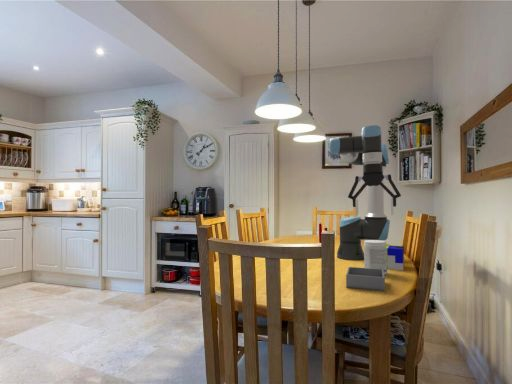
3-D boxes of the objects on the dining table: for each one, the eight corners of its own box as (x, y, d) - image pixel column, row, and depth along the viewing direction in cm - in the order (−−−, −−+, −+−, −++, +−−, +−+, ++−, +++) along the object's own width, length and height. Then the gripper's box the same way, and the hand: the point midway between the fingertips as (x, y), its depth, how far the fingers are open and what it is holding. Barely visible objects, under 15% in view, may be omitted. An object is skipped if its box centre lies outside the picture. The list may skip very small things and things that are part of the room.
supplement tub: (391, 274, 136) (391, 241, 136) (378, 277, 131) (378, 243, 131) (372, 269, 144) (372, 239, 144) (359, 272, 139) (359, 240, 139)
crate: (348, 278, 129) (348, 266, 129) (383, 281, 124) (383, 269, 124) (346, 287, 116) (346, 274, 116) (384, 291, 111) (384, 277, 112)
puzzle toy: (402, 270, 143) (402, 249, 143) (380, 268, 148) (380, 247, 148) (404, 266, 152) (403, 246, 152) (382, 264, 156) (382, 244, 157)
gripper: (340, 165, 126) (342, 215, 126) (406, 160, 116) (408, 215, 116) (342, 166, 133) (344, 214, 133) (405, 162, 123) (407, 213, 123)
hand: (374, 215), depth 125 cm, fingers open, 13 cm apart
